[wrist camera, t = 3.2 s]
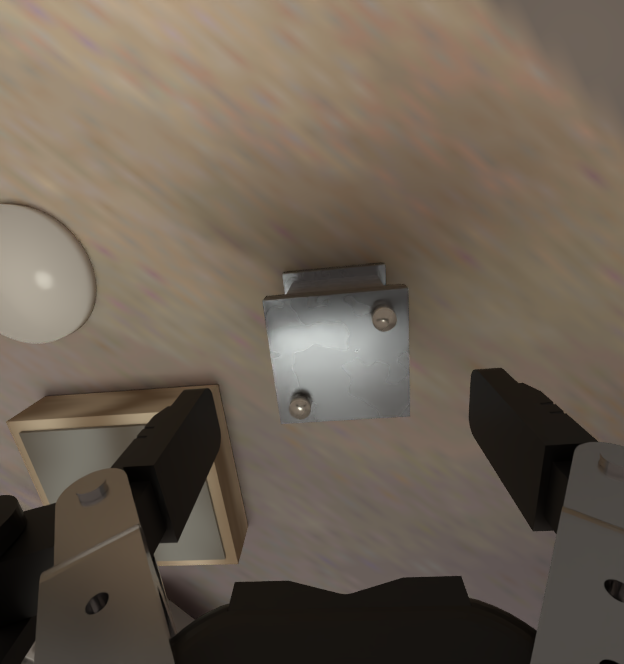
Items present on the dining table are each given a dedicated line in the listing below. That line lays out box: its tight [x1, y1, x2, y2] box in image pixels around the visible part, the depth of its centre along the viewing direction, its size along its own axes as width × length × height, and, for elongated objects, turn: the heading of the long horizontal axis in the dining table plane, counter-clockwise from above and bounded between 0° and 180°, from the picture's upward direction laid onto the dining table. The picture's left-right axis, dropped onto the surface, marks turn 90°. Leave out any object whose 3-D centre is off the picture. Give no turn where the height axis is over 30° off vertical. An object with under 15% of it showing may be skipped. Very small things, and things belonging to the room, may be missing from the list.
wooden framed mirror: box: [6, 385, 248, 566], centre depth 24 cm, size 12×12×3 cm
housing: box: [263, 263, 410, 424], centre depth 17 cm, size 6×6×7 cm
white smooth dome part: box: [0, 204, 96, 343], centre depth 21 cm, size 8×8×1 cm
